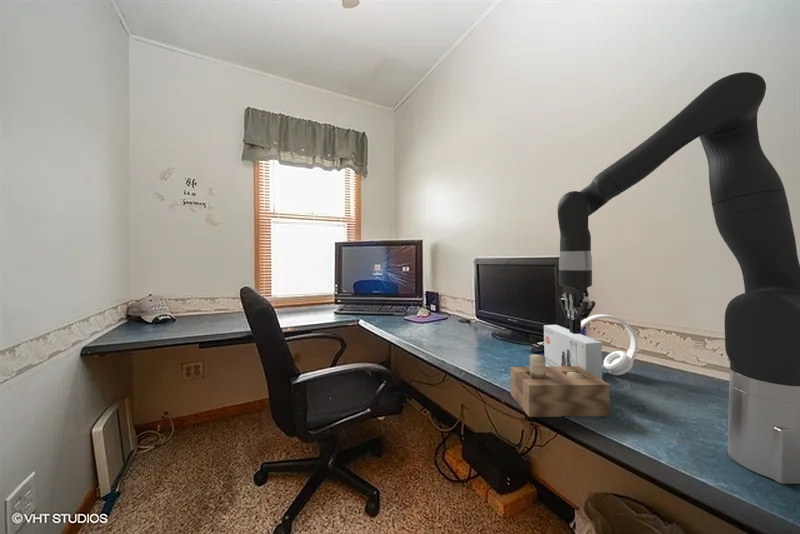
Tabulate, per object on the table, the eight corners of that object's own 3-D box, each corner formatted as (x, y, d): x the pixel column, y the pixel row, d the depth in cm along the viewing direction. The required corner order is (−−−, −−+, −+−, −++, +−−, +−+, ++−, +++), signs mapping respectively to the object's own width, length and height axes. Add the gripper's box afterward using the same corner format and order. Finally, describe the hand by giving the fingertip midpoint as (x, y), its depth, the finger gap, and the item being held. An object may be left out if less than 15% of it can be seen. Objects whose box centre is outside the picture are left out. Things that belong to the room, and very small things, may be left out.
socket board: (579, 393, 83) (579, 366, 83) (609, 416, 71) (609, 384, 71) (510, 393, 83) (510, 366, 83) (528, 416, 71) (529, 385, 71)
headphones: (642, 380, 91) (643, 318, 91) (578, 376, 95) (578, 316, 94) (627, 370, 99) (628, 313, 98) (569, 367, 103) (569, 312, 102)
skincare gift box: (542, 369, 101) (542, 324, 101) (557, 368, 102) (557, 324, 101) (585, 398, 80) (586, 342, 80) (603, 397, 81) (604, 341, 80)
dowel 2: (586, 407, 75) (586, 377, 75) (571, 407, 75) (571, 377, 75) (577, 400, 79) (577, 371, 79) (563, 400, 79) (563, 372, 79)
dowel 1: (548, 389, 75) (548, 359, 75) (533, 389, 75) (533, 359, 75) (541, 383, 79) (541, 354, 79) (527, 383, 79) (527, 354, 79)
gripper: (607, 269, 69) (607, 339, 70) (573, 267, 83) (573, 327, 83) (576, 269, 69) (576, 340, 70) (548, 268, 83) (548, 327, 83)
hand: (575, 333), depth 76 cm, fingers closed
